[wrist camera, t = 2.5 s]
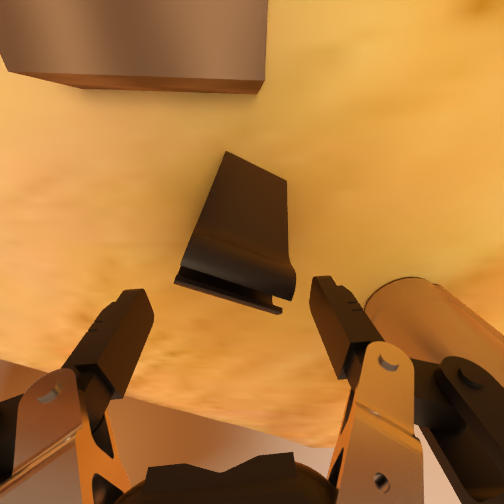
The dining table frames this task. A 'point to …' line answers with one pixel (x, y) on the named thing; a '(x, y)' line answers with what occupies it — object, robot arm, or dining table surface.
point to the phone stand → (241, 239)
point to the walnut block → (138, 43)
